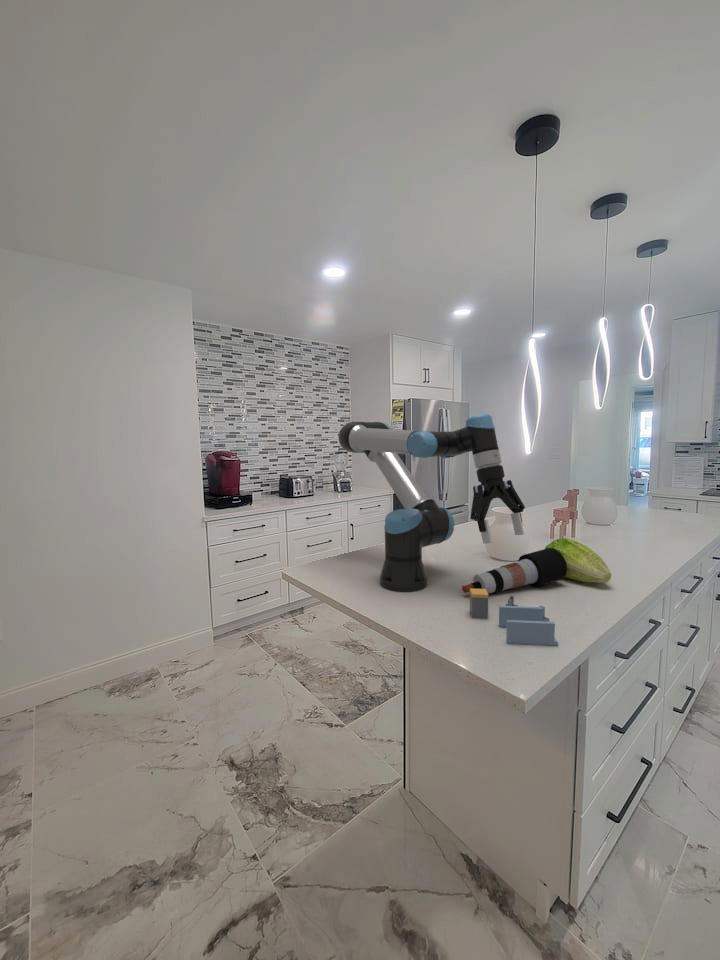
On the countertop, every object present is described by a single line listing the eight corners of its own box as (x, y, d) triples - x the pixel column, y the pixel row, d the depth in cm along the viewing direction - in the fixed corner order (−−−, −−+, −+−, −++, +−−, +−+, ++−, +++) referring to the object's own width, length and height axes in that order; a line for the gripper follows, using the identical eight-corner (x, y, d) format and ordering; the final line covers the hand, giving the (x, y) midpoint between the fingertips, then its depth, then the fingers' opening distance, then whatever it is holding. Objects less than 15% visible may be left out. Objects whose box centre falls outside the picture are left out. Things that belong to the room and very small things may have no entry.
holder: (507, 643, 91) (507, 621, 90) (498, 625, 100) (499, 605, 99) (557, 645, 90) (558, 623, 89) (544, 627, 98) (545, 607, 98)
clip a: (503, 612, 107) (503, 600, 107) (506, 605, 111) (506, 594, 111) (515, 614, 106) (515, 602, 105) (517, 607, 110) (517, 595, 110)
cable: (461, 608, 121) (450, 575, 124) (549, 581, 132) (537, 551, 135) (478, 605, 112) (466, 569, 115) (572, 576, 123) (558, 544, 126)
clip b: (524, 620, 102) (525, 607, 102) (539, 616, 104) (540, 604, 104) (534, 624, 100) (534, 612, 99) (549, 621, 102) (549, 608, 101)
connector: (471, 618, 104) (472, 594, 103) (469, 611, 108) (469, 588, 107) (488, 619, 103) (488, 594, 103) (485, 612, 107) (485, 588, 107)
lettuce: (587, 576, 118) (619, 547, 120) (531, 549, 138) (559, 525, 140) (599, 606, 122) (629, 578, 125) (543, 576, 142) (570, 552, 145)
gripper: (467, 468, 109) (483, 546, 107) (527, 460, 121) (542, 530, 119) (448, 473, 115) (463, 547, 113) (507, 465, 128) (521, 532, 126)
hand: (504, 539), depth 116 cm, fingers open, 13 cm apart
